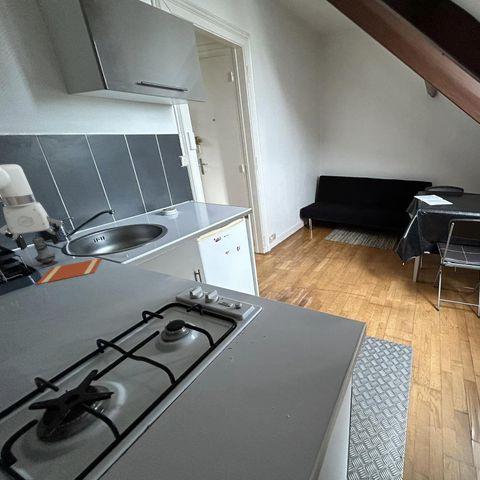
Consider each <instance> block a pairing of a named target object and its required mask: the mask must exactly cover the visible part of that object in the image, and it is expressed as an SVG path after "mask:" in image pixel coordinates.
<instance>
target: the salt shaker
mask: <svg viewBox="0 0 480 480" xmlns="http://www.w3.org/2000/svg"><path fill="white" fill-rule="evenodd" d="M31 241H32V243H33V245H34V249H35V250H36V252H37V256H35V257H34V258H33V259H34V260H36V262H37V263H40V265H39V266H38V267H39V268H47V267H52V266H54V265H57V264H58V263H59V261H58V260H55V259H56V254H57V253H56V252H52V251H50V249H49V248H48V244H46V242H45V239H44V238H43V237H41V236H38V235H36V234H35V236H34V238H32V240H31Z"/></svg>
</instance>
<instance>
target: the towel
mask: <svg viewBox="0 0 480 480" xmlns="http://www.w3.org/2000/svg"><path fill="white" fill-rule="evenodd" d="M102 260H103V258H95V259H90V260H84V261H79V262H74V263H70V264H69V263H68V264H63V265H57V266H53V267H52V266H51V268H50V269H48V270H47V272H46V273H44V275H43V276H42V277H41V278H40V279H39V280H38V281H37V282H36V286H39V285H42V284H47V283H53V282H57V281H62V280H66V279H72V278H76V277H81V276H87V275H92V274H95V272H96V271H97V269H98V267H99V265H100V263H101V262H102Z"/></svg>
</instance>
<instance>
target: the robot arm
mask: <svg viewBox="0 0 480 480" xmlns="http://www.w3.org/2000/svg"><path fill="white" fill-rule="evenodd" d="M0 204H3V205H4V206H2V212H3V217H4V219H5V222H6V224H4V225H3V226H2V227H0V234H2V235H4V236H5V237H7V238H9V239H11V240H13V241H15V244H16V245H17V248H19V249H20V250H21V251H25V249H27V248H28V244H27V242H26V241H25V239H24V237H21V236H22V235H25V234H31V233H37V232H44V231H46V232H47V233H49V234H50V235H49V237H50V239H51V241H52V244H53V245H58V244H59V243H60V241H61V239H60V236H59V234H58V232H59V231H60V229H61V228H62V225H63V222H64V221H63V220H61V219H57V218H52V217H50V216H49V214H48V213H47V211H46V209H45V208H44V206H43V205H42V204H41V202H39V201H37V200H36V197H35V194H34V193H33V191H32V188H31V186H30V183H29V181H28V179H27V176H26V174H25V172H24V169H23V167H21V166H20V165H19V164H16V163H9V164H8V163H5V164H0ZM53 224H55V227H53ZM8 230H9V231H8Z"/></svg>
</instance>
